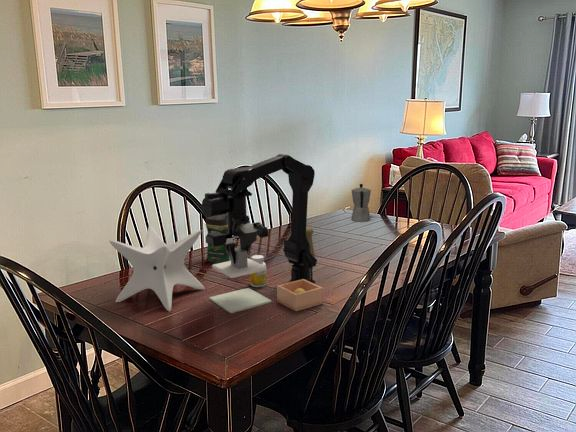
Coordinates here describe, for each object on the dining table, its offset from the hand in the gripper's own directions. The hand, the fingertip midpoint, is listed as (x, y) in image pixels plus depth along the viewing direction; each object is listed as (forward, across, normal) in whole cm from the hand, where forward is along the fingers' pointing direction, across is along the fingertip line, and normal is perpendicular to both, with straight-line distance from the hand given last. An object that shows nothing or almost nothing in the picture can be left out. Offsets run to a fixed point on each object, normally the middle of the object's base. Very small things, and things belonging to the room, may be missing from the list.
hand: (238, 262), depth 165 cm
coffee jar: (+13, +14, +40) cm, 44 cm away
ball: (+10, +14, -12) cm, 21 cm away
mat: (+12, 0, 0) cm, 12 cm away
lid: (+2, 0, 0) cm, 2 cm away
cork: (+13, +45, +27) cm, 54 cm away
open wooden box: (+12, +14, -12) cm, 22 cm away
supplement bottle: (+13, +12, +9) cm, 20 cm away
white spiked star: (+13, -18, +19) cm, 29 cm away
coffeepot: (+13, +100, +57) cm, 116 cm away
